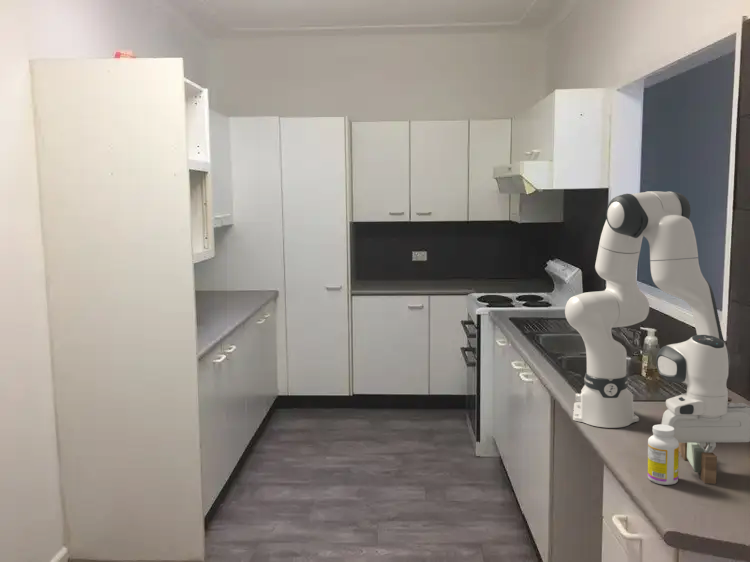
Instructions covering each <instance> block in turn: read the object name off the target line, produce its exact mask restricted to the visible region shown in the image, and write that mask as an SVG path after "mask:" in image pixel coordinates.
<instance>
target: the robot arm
mask: <svg viewBox="0 0 750 562" xmlns="http://www.w3.org/2000/svg"><path fill="white" fill-rule="evenodd" d="M605 215H606V216H605V217H606V219H605V222H604V225H603V227H602V231H601V233H600V237H599V238H600V239H599V244H598V249H597V254H596V258H595V259H596V260H595V265H594V269H595V272H596V273H597V275H598V276H599V277H600V278H601V279H602V280H605V281H606V288H605V289H604V290H599V291H588V292H583V293H578V294H576V295H574V296H571V297H570V298H569V299H568V300H567V301H566V304H565V306H564V314H565V315H564V316H565V319H566V321H567V323H568V324H569V325H570V327H572V328H573V329H574V330H575V331H576V332H578V333H579V335H580V337H581V338H582V340H583V343H584V347H585V354H586V355H585V356H586V372H585V373H584V374H585V375H584V385H583V387H582V389H581V390H580V391H581V392H580V393H577V392H576V393H575V402H574V403H573V410H574V411H572V412H573V413H572V420H573V421H575V422H581V423H584V424H587V425H589V426H594V427H598V428H607V429H608V428H609V429H616V428H624V427H628V426H630V425H631V424H633V423H635V422H639V421H640V418H639V416H638V415H636V414H635V413H634V395H633V393H632V392H631V391H630V390H629V389H628V388H629V387H628V385H629V377H628V374H627V356H628V355H627V349H626V347H625V346H624V344H623V345H622V343H621V342H619V341H617V340H615V339H614V337H613V335H612V328H622V327H630V326H633V325H636V324H639V323H641V322H643V321H646V319H647V317H648V316H649V313H650V302H649V300H648V297H647V296H646V295H645V293H644V292H642V291H641V290H640V288H639V285H638V282H637V270H638V264H639V258H640V255H641V254H640V253H641V249H642V248H641V247H642V242H643V238H645V239H646V240H647V241H648V245H649V265H650V274H651V279H652V281H653V283H654V285H655V286H656V287H657V288H658V289H659V290H661V291H662V292H663V293H665V294H667V295H669V296H673V297H675V298H678V299H680V300H682V301H684V302H685V303H686V304H687V305H688V306H689V307H690V309H691V312H692V317H693V321H694V327H695V331H696V334H695V335H693V336H691V337H690V338H689V339H687V340H685V341H682V342H677V343H671V344H666V345H663V346H662V347H661V348H660V349H659V351H658V352H657V354H656V359H655V361H656V362H655V363H656V364H655V365H656V369H657V372H658V374H660V377H661V378H663V379H664V380H665V381H667V382H669V383H683V384H684V385H686V392H685V393H682V394H679V395H676V396H673V397H670V398H666V400H665V406H666V408H667V409H666V410H665V411H664V412H663V414H662V419H661V424H663V425H669V426H672V427H673V428H674V435H673V437H674V438H676V439H677V440H678V442H679V443H697V445H698V446H699V447H700V448H702V449H703V450H704V452H711V453H713V451H714V450H715V448H717V447H716V446H717V443H749V442H750V405H748V404H746V403H745V402H738V403H734V402H729V401H728V399H729V394H728V393H729V392H728V391H729V390H728V388H727V381H728V378H729V368H730V365H731V357H730V353H729V349H728V348H727V345H726V342H725V339H724V335H723V333H722V332H723V331H722V326H721V323H720V317H719V313H718V308H717V302H716V298H715V295H714V291H713V288H712V285H711V284H710V282H709V281H708V279H706V278H705V277H704V274H703V273H702V270H701V267H700V264H699V263H700V262H699V261H700V260H699V253H698V252H699V250H698V244H697V238H696V234H695V230H694V227H693V223H692V222H691V220H690V217H691V205H690V201H689V200H688V198H687V197H686V196H685V195H684V194H682V193H679V192H676V191H670V190H669V191H661V190H660V191H659V190H658V191H657V190H656V191H654V190H653V191H652V190H651V191H650V190H649V191H645V192H644V191H643V192H635V193H623V194H620V195H617V196H615V197H613V198H612V199H611V200H610V201H609V203H608V205H607V208H606V213H605ZM705 447H706V448H705Z"/></svg>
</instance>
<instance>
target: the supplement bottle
mask: <svg viewBox="0 0 750 562" xmlns="http://www.w3.org/2000/svg"><path fill="white" fill-rule="evenodd" d="M652 434H653V435H651V436H650V437H648V439H647V478H648V480H650V482H652V483H654V484H658V485H663V486H664V485H665V486H670V485H675V484H677V483H678V482H679V460H680V459H679V458H680V457H679V455H680V452H679V442H678V440H677V439H676V438H674V437H673V435H674V428H673V427H672V426H669V425H663V424H662V423H660V424H654V425H653V426H652Z"/></svg>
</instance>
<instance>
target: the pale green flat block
mask: <svg viewBox="0 0 750 562" xmlns="http://www.w3.org/2000/svg"><path fill="white" fill-rule="evenodd" d="M702 452H704V450H703V449H702V448H700V447H699V446H698V445H697V443H687V459H688V460H687V461H688V462H689V464H690V465H691V467H692V468H693V469H692V470H693V472H694V473H701V454H702Z"/></svg>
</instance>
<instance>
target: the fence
mask: <svg viewBox="0 0 750 562" xmlns="http://www.w3.org/2000/svg"><path fill="white" fill-rule="evenodd" d="M679 454H680V457H681V458H682V460H684V461H689V460H688V459H687V443H679ZM717 463H718V456H717V455H716V454H715V453H714V452H712V453H711V452H702V454H701V472H700V480H702V483H704V484H713V485H714V484H715V485H716V484H717V468H718V467H717V465H718V464H717Z"/></svg>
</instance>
